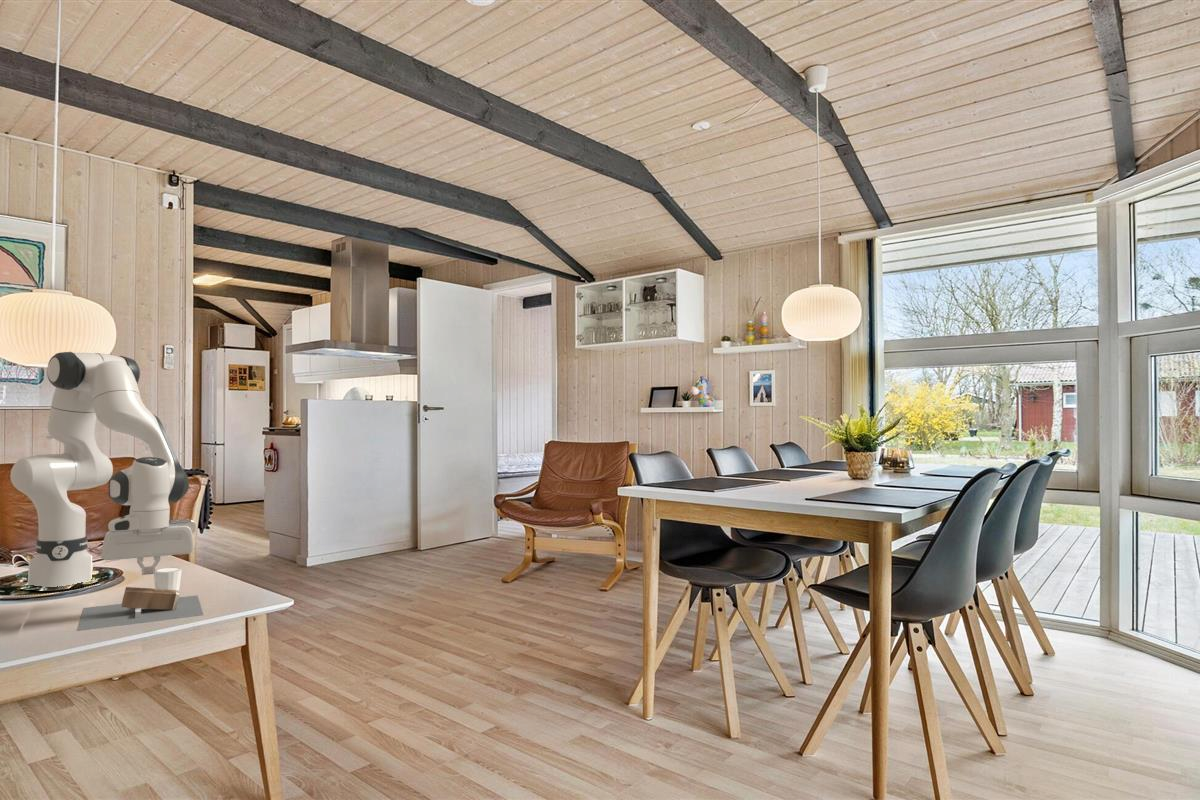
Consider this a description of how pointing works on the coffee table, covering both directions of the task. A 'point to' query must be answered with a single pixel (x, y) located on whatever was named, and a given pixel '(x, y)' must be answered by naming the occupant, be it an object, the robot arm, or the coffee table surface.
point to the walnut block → (150, 598)
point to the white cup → (168, 578)
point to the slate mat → (136, 614)
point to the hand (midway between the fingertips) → (148, 574)
